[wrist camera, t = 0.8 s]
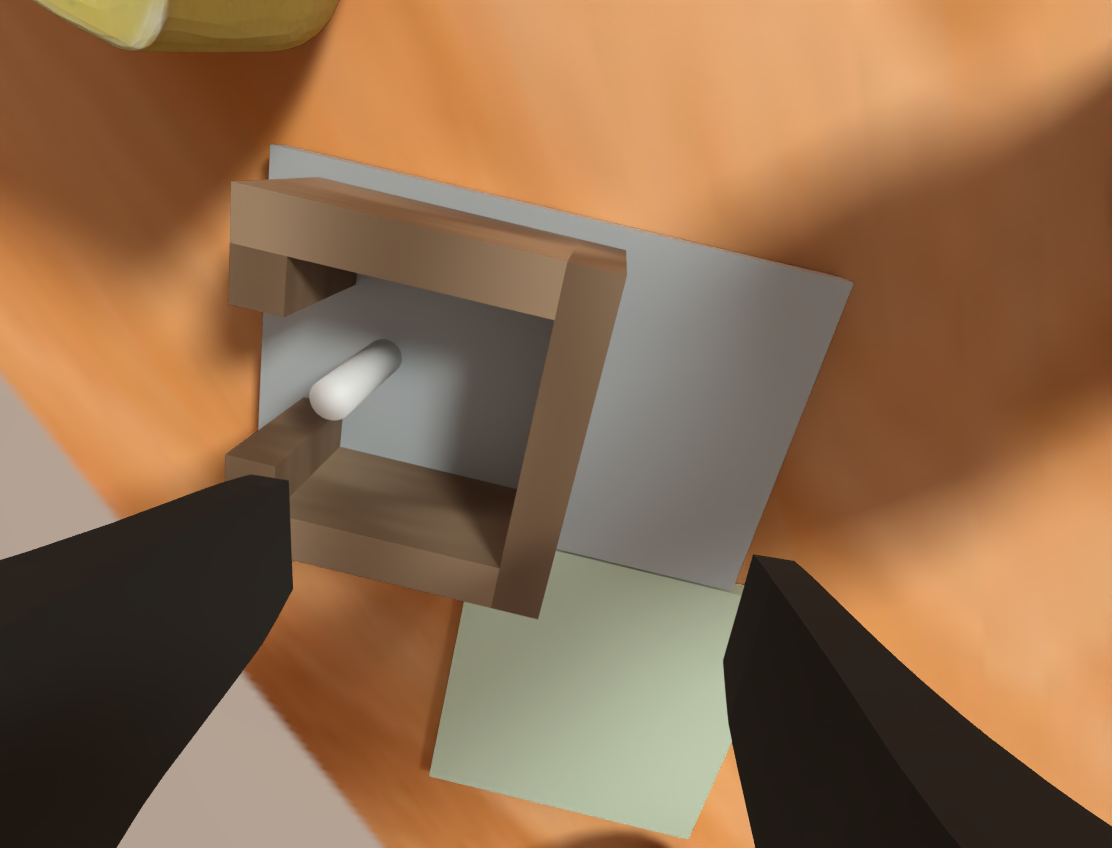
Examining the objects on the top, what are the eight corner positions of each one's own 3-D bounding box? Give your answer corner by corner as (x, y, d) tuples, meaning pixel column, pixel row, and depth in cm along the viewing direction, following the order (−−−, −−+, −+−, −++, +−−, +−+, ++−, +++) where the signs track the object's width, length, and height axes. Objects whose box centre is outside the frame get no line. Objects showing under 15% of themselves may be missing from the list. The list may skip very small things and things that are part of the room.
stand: (843, 278, 17) (913, 313, 13) (728, 575, 21) (753, 677, 17) (285, 144, 17) (179, 139, 13) (269, 465, 21) (183, 539, 17)
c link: (626, 250, 16) (626, 275, 13) (554, 533, 20) (538, 619, 16) (318, 177, 16) (230, 181, 13) (298, 472, 20) (223, 543, 16)
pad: (787, 595, 21) (791, 607, 20) (686, 824, 25) (688, 839, 24) (481, 522, 21) (477, 532, 20) (433, 762, 25) (429, 776, 24)
